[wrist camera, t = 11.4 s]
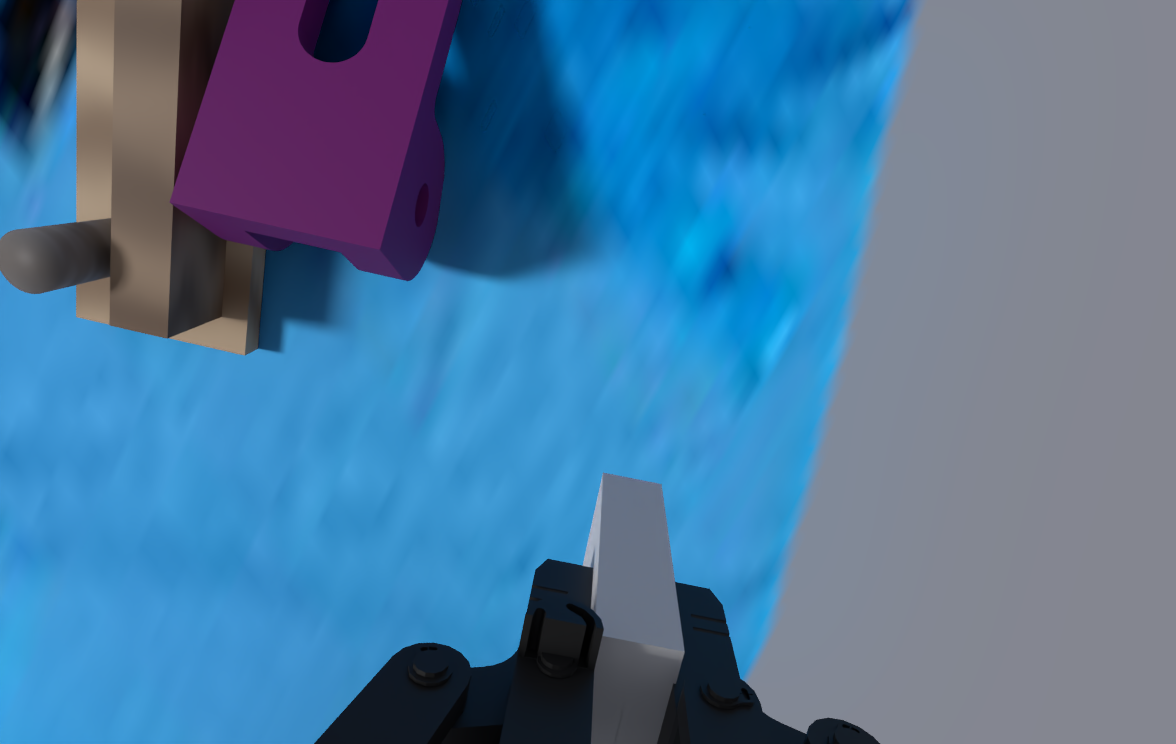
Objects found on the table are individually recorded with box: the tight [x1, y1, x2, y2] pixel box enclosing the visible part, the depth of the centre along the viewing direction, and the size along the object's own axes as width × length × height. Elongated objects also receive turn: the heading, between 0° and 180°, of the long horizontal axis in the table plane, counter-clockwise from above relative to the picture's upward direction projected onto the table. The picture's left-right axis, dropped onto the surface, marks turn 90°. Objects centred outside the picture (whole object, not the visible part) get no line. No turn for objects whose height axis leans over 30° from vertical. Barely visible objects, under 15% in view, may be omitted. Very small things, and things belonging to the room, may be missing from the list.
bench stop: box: [0, 0, 266, 355], centre depth 34 cm, size 32×10×8 cm, turn 168°
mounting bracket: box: [169, 0, 462, 281], centre depth 37 cm, size 9×8×18 cm
